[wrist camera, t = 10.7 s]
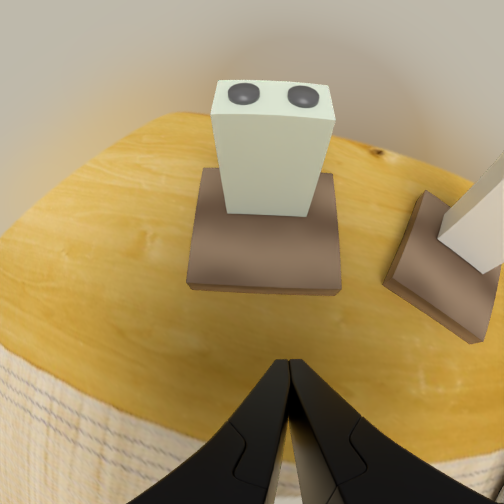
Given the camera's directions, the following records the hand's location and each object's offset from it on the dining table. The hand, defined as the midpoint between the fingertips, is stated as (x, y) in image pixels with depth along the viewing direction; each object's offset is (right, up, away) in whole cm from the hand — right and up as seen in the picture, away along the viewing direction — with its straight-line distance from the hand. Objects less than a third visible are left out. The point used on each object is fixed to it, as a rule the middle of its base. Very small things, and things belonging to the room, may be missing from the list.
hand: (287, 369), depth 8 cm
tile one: (+18, +4, +13) cm, 22 cm away
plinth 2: (+17, +2, +14) cm, 22 cm away
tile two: (0, +8, +14) cm, 16 cm away
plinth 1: (0, +5, +15) cm, 16 cm away
